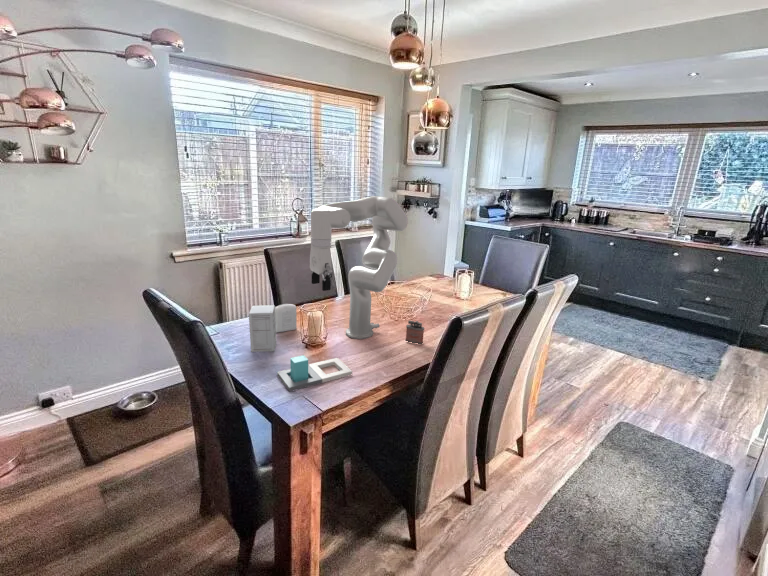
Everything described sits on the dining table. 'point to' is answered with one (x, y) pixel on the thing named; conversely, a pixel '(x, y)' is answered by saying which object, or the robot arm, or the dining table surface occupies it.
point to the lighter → (414, 332)
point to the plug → (299, 368)
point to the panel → (315, 374)
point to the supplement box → (262, 328)
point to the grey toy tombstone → (285, 317)
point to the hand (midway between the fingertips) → (320, 286)
